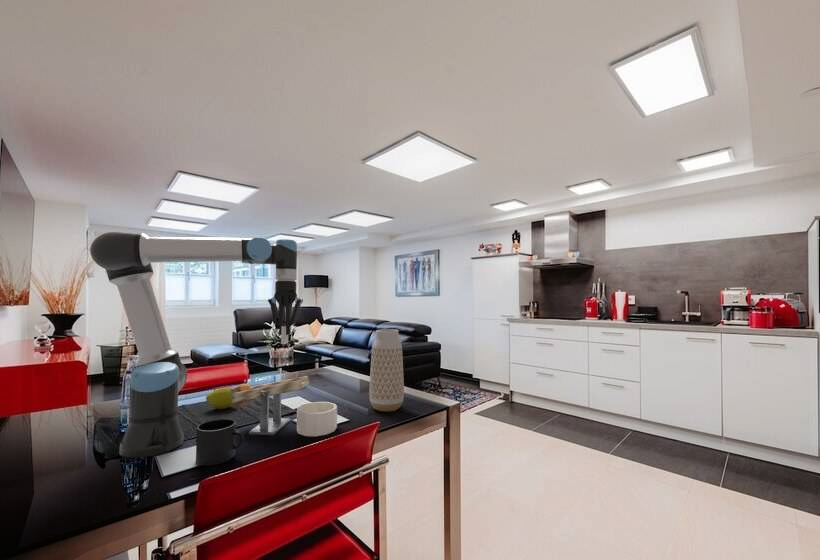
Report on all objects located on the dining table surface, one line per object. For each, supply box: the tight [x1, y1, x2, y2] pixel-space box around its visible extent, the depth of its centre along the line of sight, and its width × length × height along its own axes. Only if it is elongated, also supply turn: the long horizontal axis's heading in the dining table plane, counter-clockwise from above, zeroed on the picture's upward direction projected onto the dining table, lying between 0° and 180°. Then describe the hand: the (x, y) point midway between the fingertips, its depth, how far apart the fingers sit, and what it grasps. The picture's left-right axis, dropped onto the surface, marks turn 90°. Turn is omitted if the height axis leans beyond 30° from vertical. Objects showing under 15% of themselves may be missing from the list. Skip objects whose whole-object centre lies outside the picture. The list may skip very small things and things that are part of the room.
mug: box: [195, 418, 245, 467], centre depth 97 cm, size 9×12×9 cm
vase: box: [368, 328, 405, 413], centre depth 141 cm, size 14×14×31 cm
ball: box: [239, 383, 252, 392], centre depth 121 cm, size 4×4×4 cm
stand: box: [248, 391, 291, 436], centre depth 120 cm, size 8×13×13 cm, turn 176°
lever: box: [230, 375, 310, 410], centre depth 124 cm, size 24×15×7 cm, turn 86°
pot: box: [296, 401, 338, 437], centre depth 119 cm, size 13×13×7 cm
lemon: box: [205, 387, 235, 410], centre depth 139 cm, size 11×8×8 cm
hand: (284, 343), depth 133 cm, fingers closed
